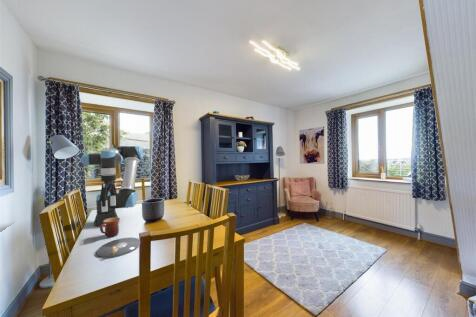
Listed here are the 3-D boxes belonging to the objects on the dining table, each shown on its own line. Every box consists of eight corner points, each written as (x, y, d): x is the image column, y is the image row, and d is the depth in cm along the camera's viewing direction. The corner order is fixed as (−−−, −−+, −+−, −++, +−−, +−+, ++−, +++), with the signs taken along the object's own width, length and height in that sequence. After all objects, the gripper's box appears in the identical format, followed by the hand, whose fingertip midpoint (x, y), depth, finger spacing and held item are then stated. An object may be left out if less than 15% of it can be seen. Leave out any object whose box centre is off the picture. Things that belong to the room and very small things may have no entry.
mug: (112, 232, 123) (111, 216, 123) (123, 233, 121) (123, 217, 121) (94, 240, 111) (94, 223, 111) (107, 241, 110) (106, 224, 109)
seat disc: (106, 242, 109) (106, 234, 109) (143, 237, 115) (143, 229, 114) (89, 260, 90) (89, 250, 90) (135, 254, 95) (135, 245, 95)
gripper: (109, 173, 127) (109, 203, 127) (91, 177, 103) (92, 215, 103) (121, 172, 129) (122, 203, 129) (107, 176, 105) (108, 213, 105)
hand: (109, 208), depth 116 cm, fingers open, 13 cm apart
